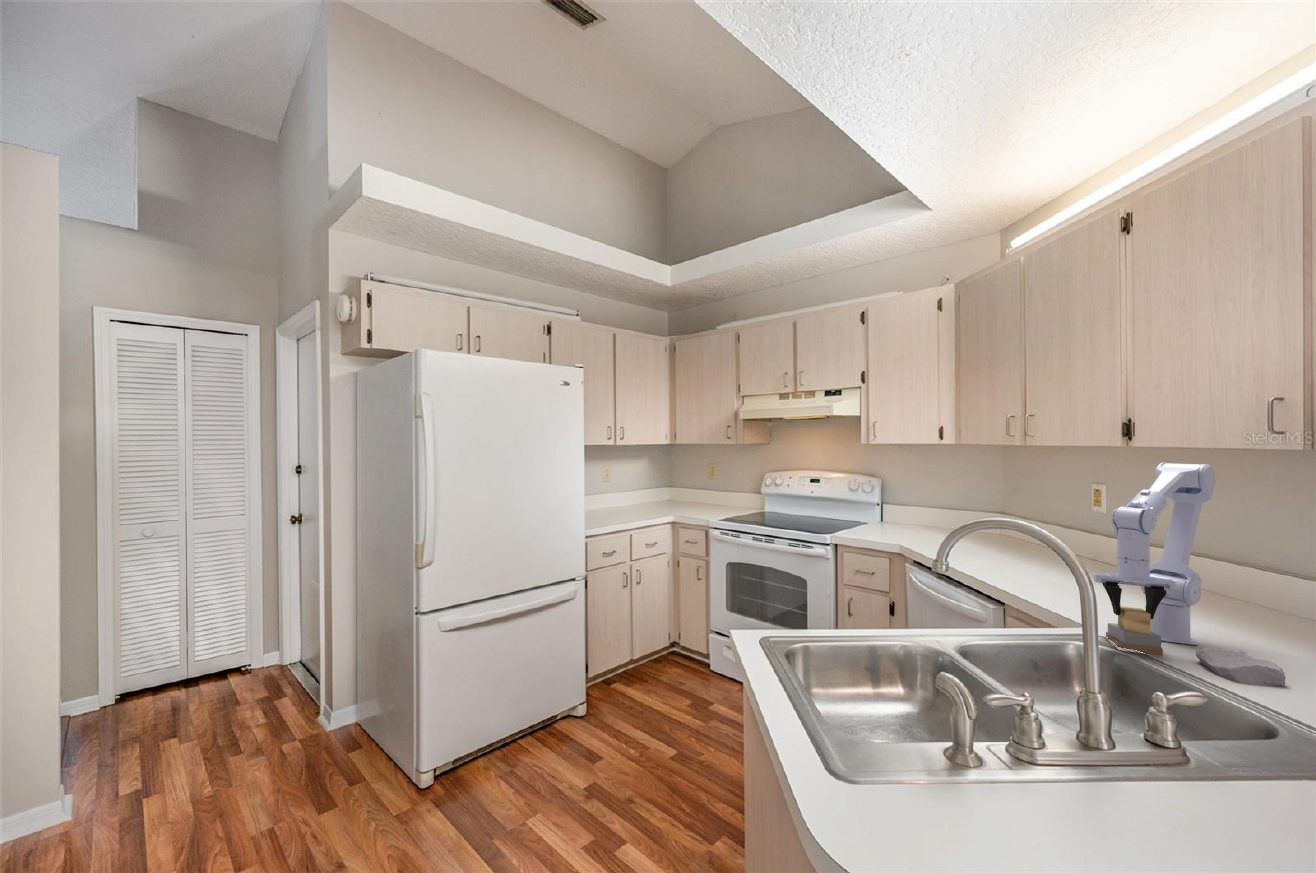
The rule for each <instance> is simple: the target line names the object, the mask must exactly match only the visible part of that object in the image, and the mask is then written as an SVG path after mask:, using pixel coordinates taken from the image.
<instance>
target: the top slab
mask: <svg viewBox="0 0 1316 873" xmlns="http://www.w3.org/2000/svg"><path fill="white" fill-rule="evenodd" d="M1107 632H1108V634H1110V635H1111V636H1113V637H1115V638H1116V639H1118V640H1119V641H1121V642H1122V643H1124V644H1133V645H1143V646H1154V647H1162V641H1161V636H1160V635H1158V634H1156V633H1154V632H1153V631H1151V630H1150V634H1147V633H1139V632H1131V631H1125V630H1124V629H1123V628H1121V627H1120V626H1119V625H1118V623H1115V622H1114V623H1112V622H1111V623H1110V622H1107Z"/></svg>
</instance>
